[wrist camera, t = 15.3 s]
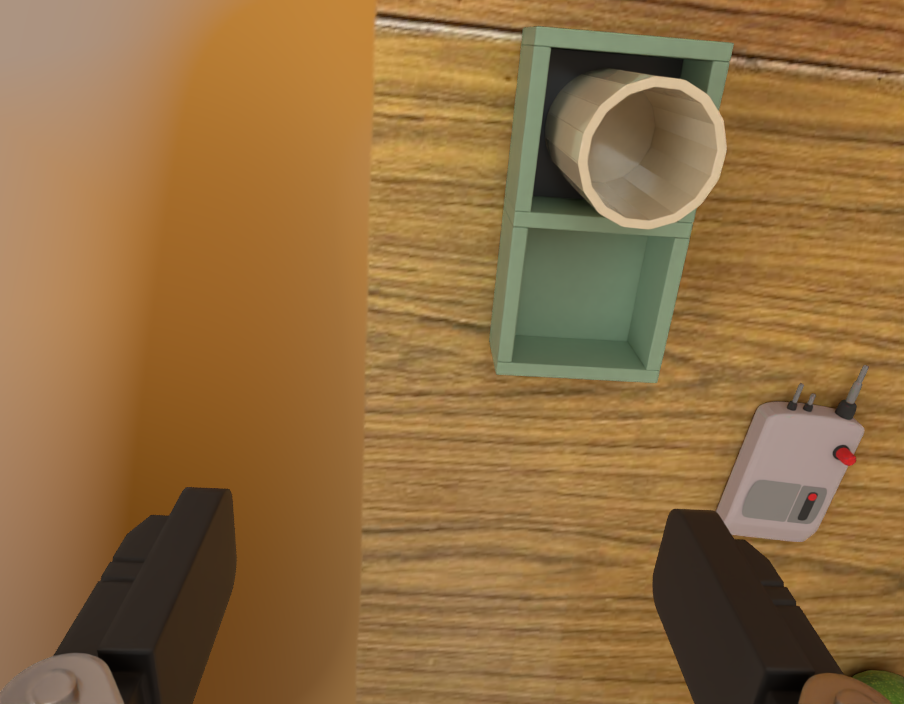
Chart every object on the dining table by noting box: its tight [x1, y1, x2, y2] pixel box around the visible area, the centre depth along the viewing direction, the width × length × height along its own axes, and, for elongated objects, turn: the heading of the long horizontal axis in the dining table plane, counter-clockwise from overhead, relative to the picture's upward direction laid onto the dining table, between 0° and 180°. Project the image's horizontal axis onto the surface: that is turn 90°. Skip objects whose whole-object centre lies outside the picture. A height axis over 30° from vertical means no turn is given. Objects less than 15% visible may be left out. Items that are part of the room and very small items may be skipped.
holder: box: [489, 26, 734, 383], centre depth 36 cm, size 17×9×5 cm, turn 176°
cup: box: [545, 68, 727, 230], centre depth 32 cm, size 6×6×9 cm
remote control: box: [716, 365, 869, 542], centre depth 45 cm, size 7×16×3 cm, turn 171°
